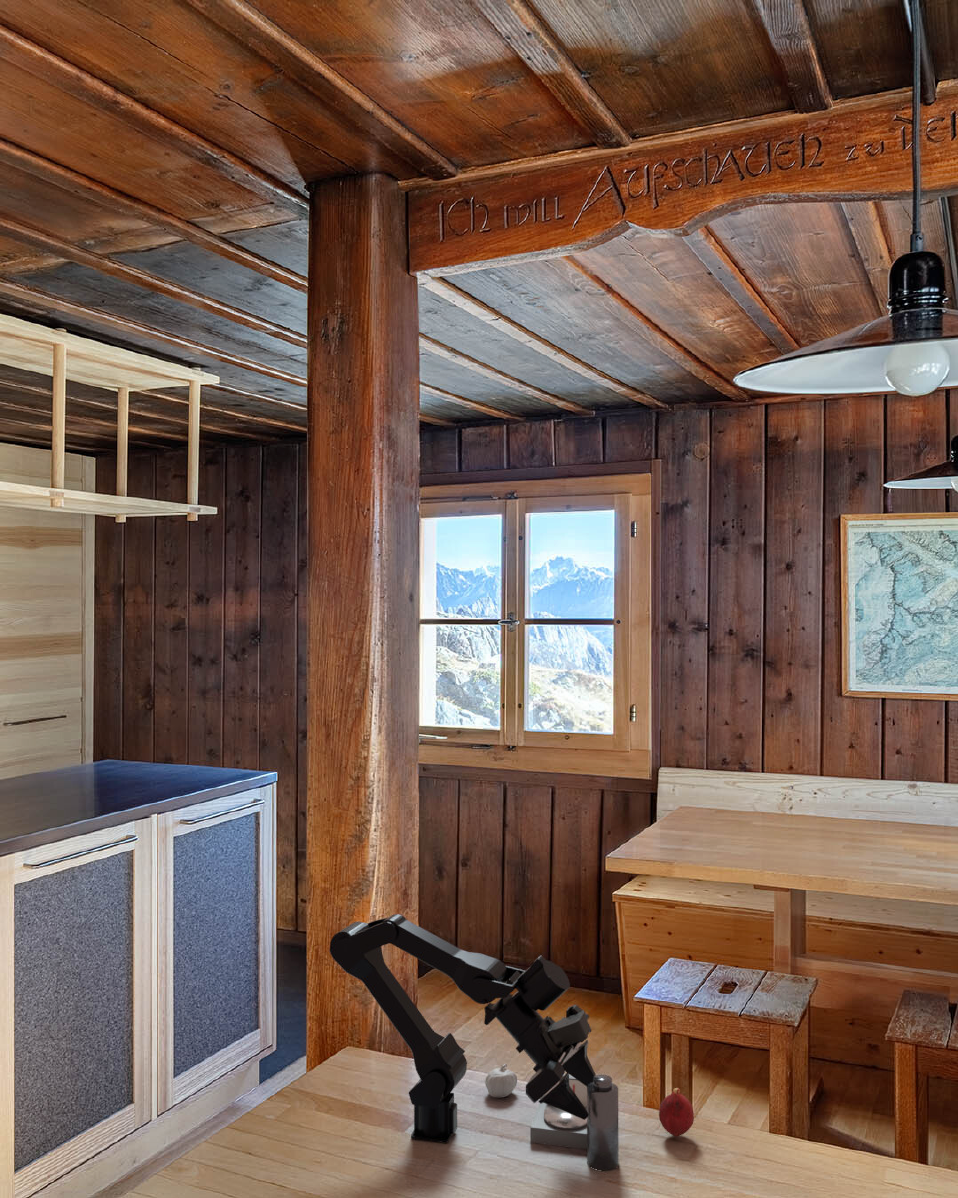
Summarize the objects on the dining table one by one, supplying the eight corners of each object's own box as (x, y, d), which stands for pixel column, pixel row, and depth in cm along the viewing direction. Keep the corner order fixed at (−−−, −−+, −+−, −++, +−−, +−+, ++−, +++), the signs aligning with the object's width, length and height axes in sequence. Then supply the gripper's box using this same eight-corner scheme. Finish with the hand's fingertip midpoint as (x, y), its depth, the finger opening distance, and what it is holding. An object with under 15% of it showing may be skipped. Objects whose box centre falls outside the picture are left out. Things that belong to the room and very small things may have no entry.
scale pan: (539, 1126, 176) (539, 1123, 176) (548, 1104, 183) (548, 1100, 183) (587, 1132, 174) (587, 1128, 174) (594, 1109, 181) (594, 1105, 181)
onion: (693, 1147, 174) (693, 1098, 174) (658, 1144, 175) (658, 1095, 175) (693, 1129, 179) (693, 1082, 179) (659, 1126, 181) (659, 1079, 181)
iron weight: (585, 1169, 167) (584, 1084, 167) (589, 1153, 172) (589, 1070, 172) (616, 1173, 166) (616, 1087, 166) (620, 1156, 171) (619, 1073, 171)
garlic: (507, 1084, 196) (507, 1056, 196) (522, 1096, 192) (522, 1068, 192) (479, 1092, 193) (479, 1064, 193) (494, 1104, 189) (494, 1075, 189)
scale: (530, 1142, 176) (530, 1100, 175) (542, 1111, 186) (542, 1071, 186) (596, 1150, 173) (596, 1107, 173) (604, 1118, 184) (604, 1078, 184)
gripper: (544, 1018, 163) (615, 1100, 159) (574, 976, 180) (639, 1050, 176) (496, 1062, 165) (565, 1144, 162) (531, 1017, 183) (594, 1090, 179)
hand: (593, 1104), depth 170 cm, fingers open, 9 cm apart
